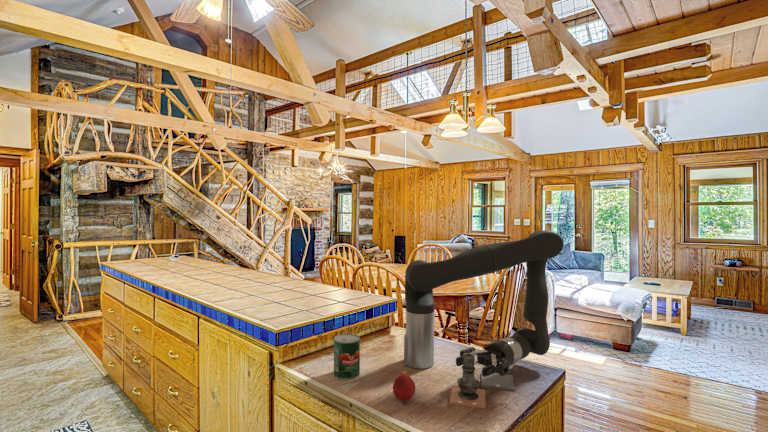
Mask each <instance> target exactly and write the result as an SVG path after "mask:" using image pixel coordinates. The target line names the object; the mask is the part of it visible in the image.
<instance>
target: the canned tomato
mask: <svg viewBox="0 0 768 432" xmlns="http://www.w3.org/2000/svg"><path fill="white" fill-rule="evenodd" d="M360 357H361V337H360V336H359V335H357V334H353V333H352V334H351V333H342V334H339V335H335V336H334V338H333V377H334V378H336V379H339V380H344V381H346V380H347V381H348V380H353V379H354V380H355V379H357V378H358V377H359V376H360V374H361V373H360V372H361V370H360V369H361V367H360V366H361V365H360V363H361V360H360V359H361V358H360Z"/></svg>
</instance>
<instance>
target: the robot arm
mask: <svg viewBox="0 0 768 432" xmlns="http://www.w3.org/2000/svg"><path fill="white" fill-rule="evenodd" d="M564 244H565V243H564V240H563V238H562V236H561V235H560V234H559V233H557V232H555V231H553V230H547V229H546V230H538V231H534V232H532V233H530V234H529V235H528V236H527V237H525V238H522V239H519V240H518V239H517V240H511V241H503V242H502V241H501V242H494V243H489V244H483V245H480V246H475V247H472V248H470V249H467V250H465V251H462V252H461V253H458V254H457V255H455V256H452V257H450V258H447V259H444V260H438V261H433V262H427V261H425V260H421V259H416V260H413V261H411V262H410V263H409V264H408V265H407V266H406V269H405V275H404V276H405V277H404V278H405V279H404V292H405V293H404V298H405V333H404V334H403V335H404V336H403V338H404V339H403V365H404V366H407V367H409V368H412V369H413V368H414V369H419V370H420V369H421V370H423V369H428V368H431V367H433V366H434V363H435V310H436V309H435V307H436V306H435V300H434V293H433V292H434V291H433V290H434V289H437V288H438V287H439V288H440V287H442V286H445V285H447V284H450V283H454V282H457V281H461V280H468V279H472V278H476V277H480V276H482V277H483V276H486V275H489V274H492V273H493V274H494V273H496V272H499V271H503V270H506V269H509V268H512V267H513V268H514V267H515V266H518V265H520V264H524V263H526V286H525V287H526V288H525V289H526V290H525V299H524V305H523V306H524V307H523V319H524V320H525V321H527V322H528V323H531V324H532V325H533V327H534V329H530V328H527V327H521V328H517V329H516V331H515V332H514V333H513V334H512V336H511V335H510V336H509V337H506V338H505V337H504V338H501V339H498V340H495V341H493V342H490V343H488V344H487V345H486V346H485V347H484V349H482V350H476V347H474V346H472V347H471V346H470V347H468V348H465V349H462V350H460V351H459V356H458V357H455V365H456V366H457V367H462V366H463V356H464V355H465V354H467V353H468V351H470V354H472V355H473V356H474V366H475V365H476V366H477V365H478V366H479V365H481V366H484V367H483V368H482V369H481V372H482V376H484V377H486V376H489V375H491V374H497V373H498V374H499V375H500V376H504V375H506V374H507V375H509V373H511V372H513V371H514V365H515V364H516V363H517V362H518V361H521V360H522V359H525V358H526V357H528V356H529V354H530V353H531V354H535V355H539V356H543V355H545V354H547V352H549V350H550V345H551V344H550V343H551V341H550V334H549V330H548V329H549V328H548V321H547V317H548V316H547V314H548V307H549V292H548V291H549V290H548V286H547V280H546V266H547V263H548V259H549V260H550V259H554V258H556V257H557V256H559V255H560V254H561V253H562V251H563V249H564Z"/></svg>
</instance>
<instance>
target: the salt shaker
mask: <svg viewBox="0 0 768 432" xmlns="http://www.w3.org/2000/svg"><path fill="white" fill-rule="evenodd" d="M461 369H462V376H461V377H459V378H457V381H456V382H457V384H458V387H459V388H460V390H461V391H460V392H459V393H458V395H459V397H460V398H462V399H465V400H475V399H477V398H478V394H477V393H476V391H477V389H479V386H480V383H481V382H480V381H479V380H478V379H476V378H475V377H476V376H475V371H476V367H475V365H474V356H473V355H472V354H470V351H468V353H467V354H465V355H464V356H463V365H461Z"/></svg>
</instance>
